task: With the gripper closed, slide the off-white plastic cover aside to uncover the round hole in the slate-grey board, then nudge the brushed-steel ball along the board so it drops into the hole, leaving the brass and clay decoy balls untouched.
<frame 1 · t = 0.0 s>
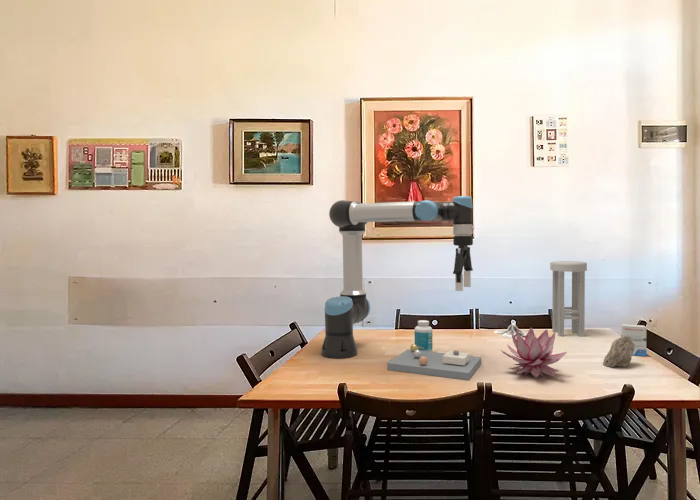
hand: (463, 288, 187), 28 cm above the table, fingers open, 13 cm apart
pill bottle: (423, 353, 197), on the table
decorative flower: (532, 373, 168), on the table
clay ball: (423, 360, 171), point 4 cm above the table, touching board
cloth: (513, 335, 231), on the table
rock: (619, 365, 177), on the table
stool: (568, 334, 229), on the table
steel ball: (417, 353, 181), point 4 cm above the table, touching board
ink box: (633, 354, 191), on the table
brass ball: (414, 348, 190), point 4 cm above the table, touching board
board: (435, 366, 178), on the table
cover: (456, 356, 174), point 5 cm above the table, slide at 0.0 cm
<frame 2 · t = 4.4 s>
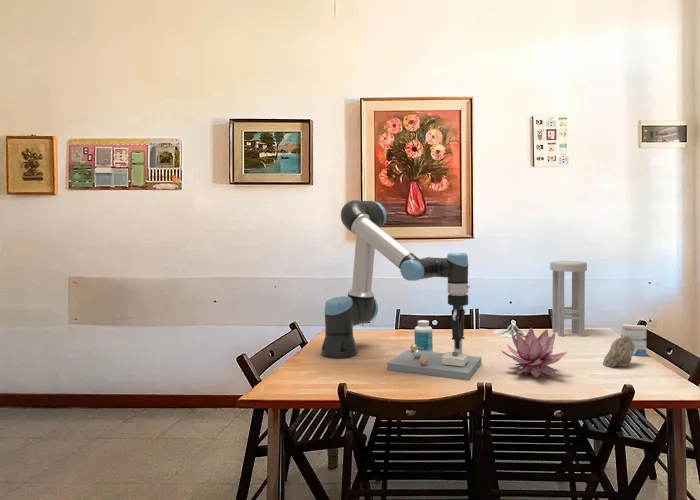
hand: (458, 356, 177), 4 cm above the table, fingers closed
cover: (455, 357, 173), point 5 cm above the table, slide at 1.5 cm, touching gripper
everything else where it was.
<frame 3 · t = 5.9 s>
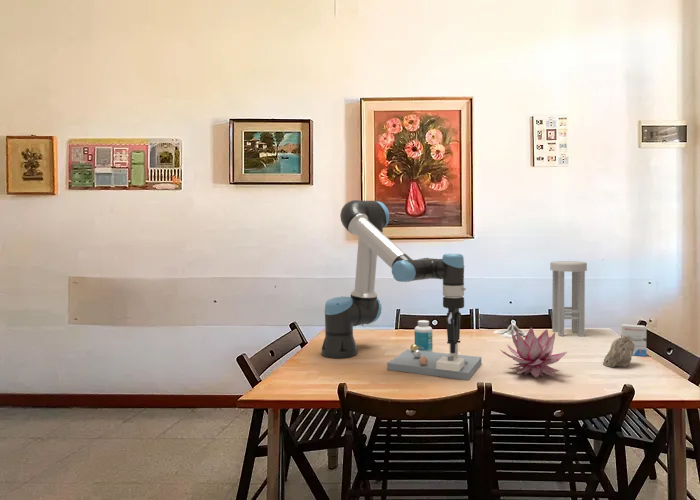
hand: (453, 361, 171), 4 cm above the table, fingers closed
cover: (450, 362, 167), point 5 cm above the table, slide at 8.0 cm, touching gripper
everything else where it was.
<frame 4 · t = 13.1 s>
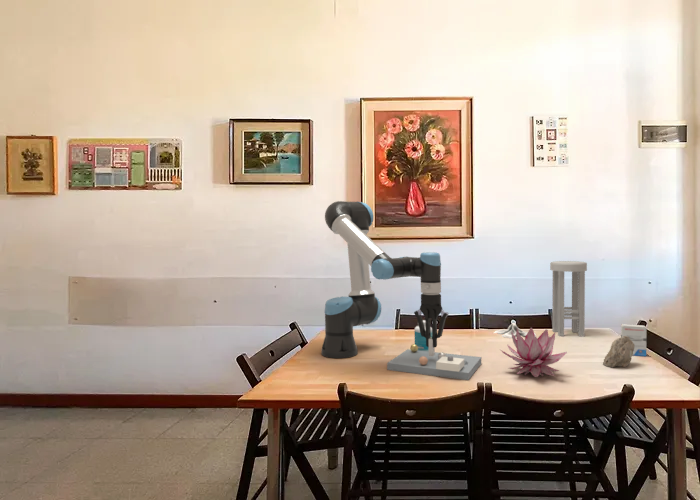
hand: (431, 355, 178), 4 cm above the table, fingers closed
steel ball: (441, 356, 176), point 4 cm above the table, tilted 15°, touching board
cover: (450, 362, 167), point 5 cm above the table, slide at 8.2 cm
everything else where it was.
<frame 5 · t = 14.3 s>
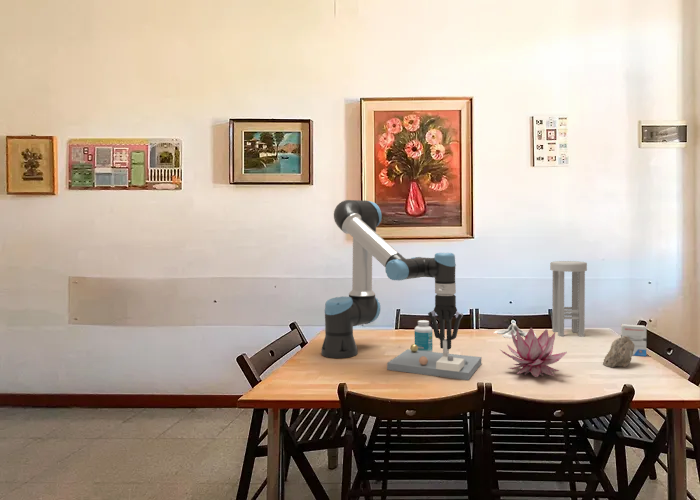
hand: (445, 357, 176), 4 cm above the table, fingers closed
steel ball: (455, 364, 174), point 2 cm above the table, tilted 167°
everything else where it was.
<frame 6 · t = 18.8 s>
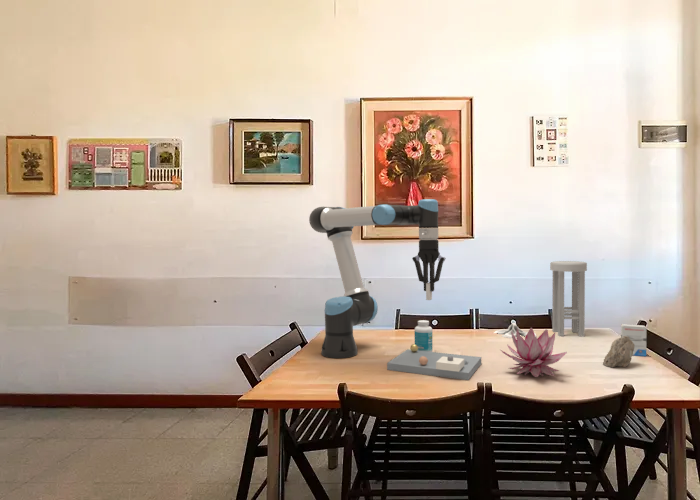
hand: (429, 299, 184), 24 cm above the table, fingers closed
steel ball: (456, 365, 174), point 2 cm above the table, tilted 149°
everything else where it was.
at the end: steel ball 0.4 cm from the target spot in the board, point 1.6 cm above the board's base; cover slide at 8.2 cm; brass ball moved 0.1 cm from its start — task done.
